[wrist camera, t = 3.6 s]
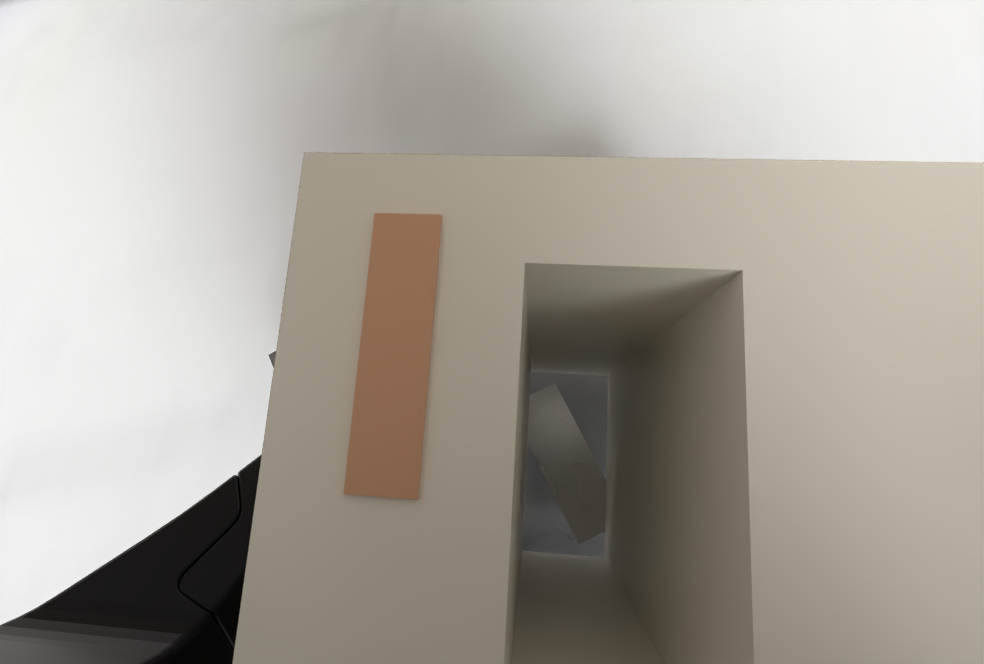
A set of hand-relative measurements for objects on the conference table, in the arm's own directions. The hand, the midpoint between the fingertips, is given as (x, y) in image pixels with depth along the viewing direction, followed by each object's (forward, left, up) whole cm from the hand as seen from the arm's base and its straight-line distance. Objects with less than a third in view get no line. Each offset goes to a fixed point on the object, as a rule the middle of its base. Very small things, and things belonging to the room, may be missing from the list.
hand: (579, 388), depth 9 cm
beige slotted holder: (-1, +1, -3) cm, 3 cm away
